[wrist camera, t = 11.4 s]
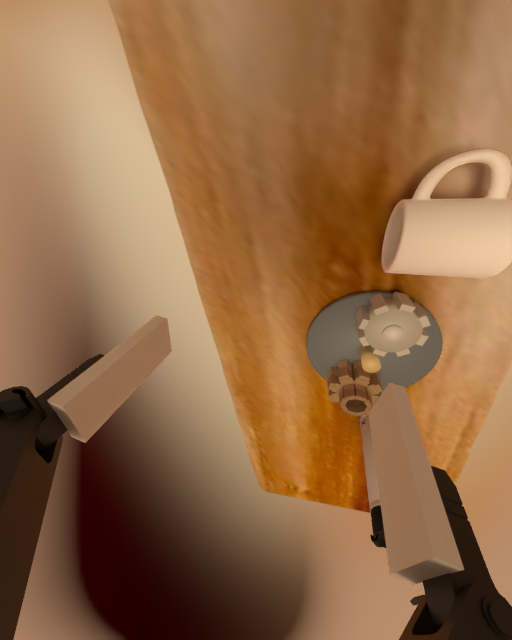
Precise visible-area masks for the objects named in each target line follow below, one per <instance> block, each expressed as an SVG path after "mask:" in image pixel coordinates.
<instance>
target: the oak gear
mask: <svg viewBox="0 0 512 640" xmlns="http://www.w3.org/2000/svg"><path fill="white" fill-rule="evenodd" d="M328 389H329V397H330V399H331V400H332V402H336V401H337V402H339V404H340V407H341V408H342V410H343V411H344V412H345V413H347V414H350V415H353V416H356V415H357V416H363V415H367V414H368V413H369V412H370V410H371V409H372V407H373V405H374V404H375V403H376V401H377V400H378V398H379V397H380V395H381V392H383V389H382V385H381V381H380V377H379V374H378V372H375V373H369V372H366V371H364V370H363V368H362V363H361V360H359V359H357V361H356V362H354V363H353V365H352V364H351V362H350V361H349V362H348V360H347V359H345V360H341V361H338V368H337V367H335V368H334V367H331V368H330V370H329V372H328Z"/></svg>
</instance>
